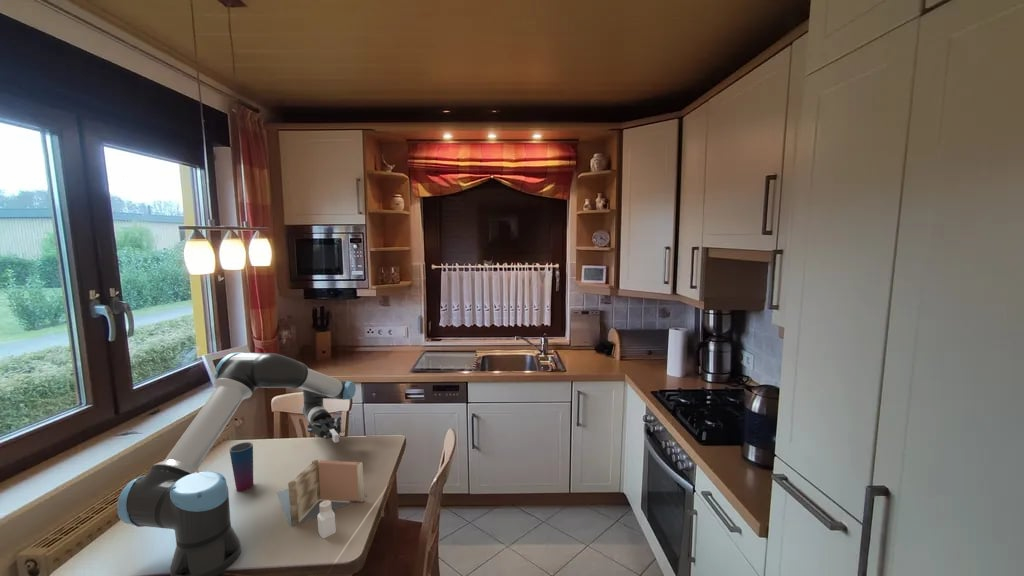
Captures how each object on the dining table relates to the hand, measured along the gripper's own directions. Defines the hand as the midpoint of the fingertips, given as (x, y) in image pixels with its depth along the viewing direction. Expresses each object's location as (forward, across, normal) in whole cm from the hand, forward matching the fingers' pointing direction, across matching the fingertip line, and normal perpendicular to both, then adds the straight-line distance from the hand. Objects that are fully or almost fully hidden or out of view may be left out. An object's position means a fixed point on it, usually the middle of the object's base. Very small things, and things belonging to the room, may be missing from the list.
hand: (336, 438), depth 151 cm
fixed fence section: (+17, +14, -13) cm, 26 cm away
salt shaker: (+32, +12, -14) cm, 37 cm away
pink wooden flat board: (+19, +4, -12) cm, 23 cm away
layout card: (+11, +9, -13) cm, 19 cm away
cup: (-11, +28, -13) cm, 33 cm away
